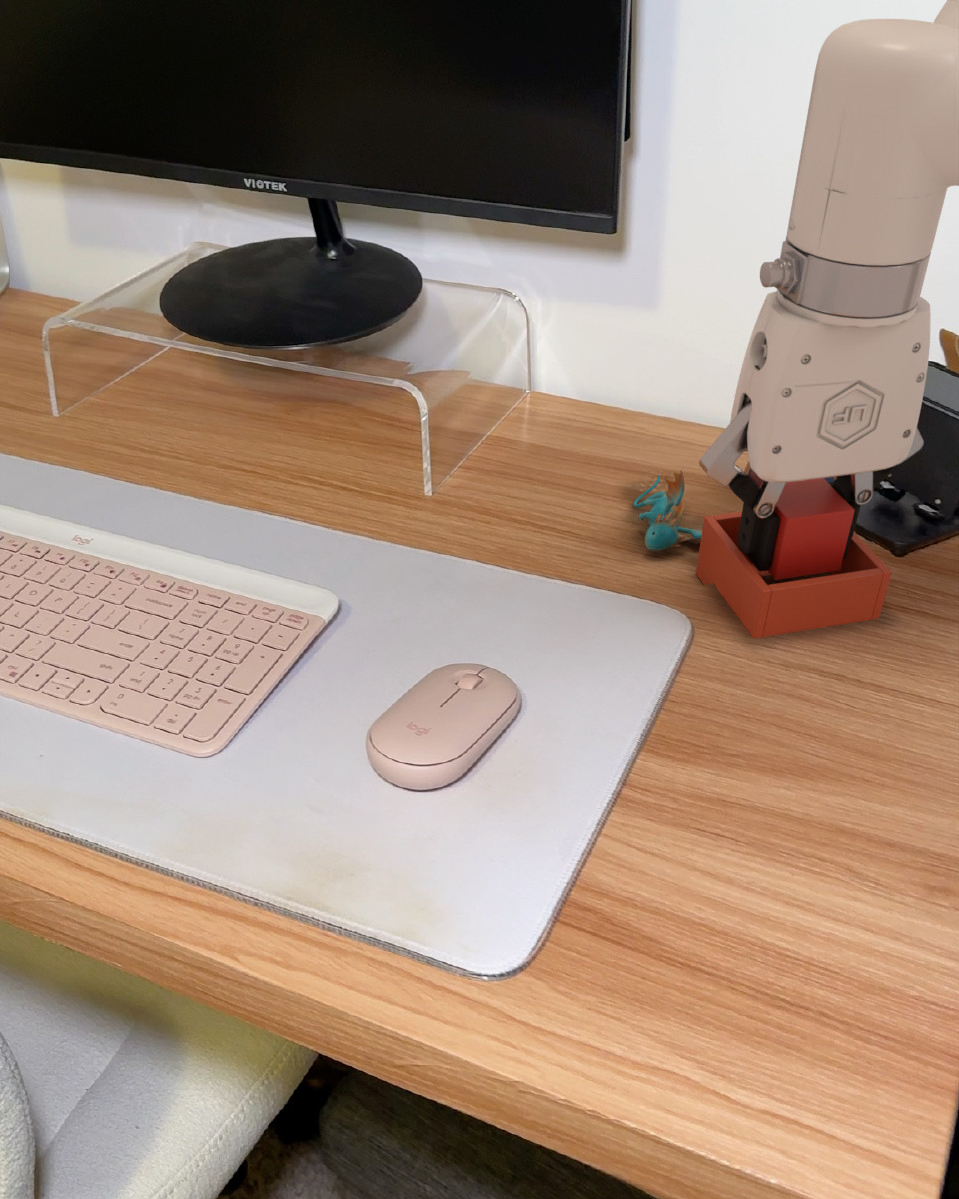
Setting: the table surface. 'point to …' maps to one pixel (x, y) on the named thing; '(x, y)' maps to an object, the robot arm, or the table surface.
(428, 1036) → the table surface
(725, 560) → the red bin
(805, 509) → the red block
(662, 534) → the dragon figurine
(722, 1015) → the table surface
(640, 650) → the table surface
